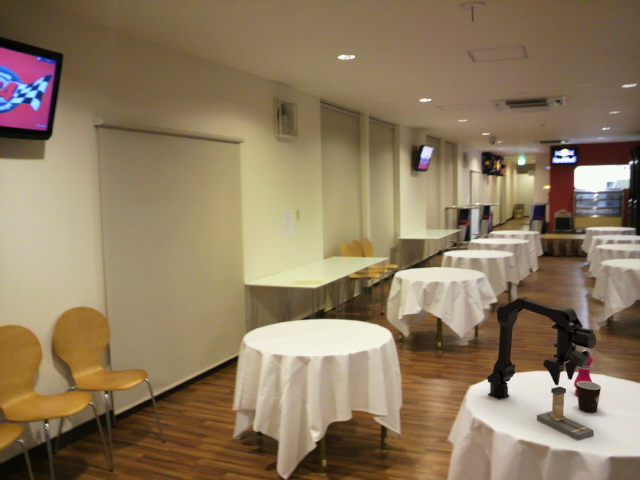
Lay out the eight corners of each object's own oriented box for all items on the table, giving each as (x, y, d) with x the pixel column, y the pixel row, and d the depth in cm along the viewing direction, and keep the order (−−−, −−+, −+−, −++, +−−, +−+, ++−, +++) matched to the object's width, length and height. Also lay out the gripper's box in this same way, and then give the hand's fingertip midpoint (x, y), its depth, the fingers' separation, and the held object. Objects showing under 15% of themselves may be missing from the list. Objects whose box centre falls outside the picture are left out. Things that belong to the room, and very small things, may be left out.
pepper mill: (595, 398, 219) (598, 352, 217) (578, 398, 219) (580, 352, 217) (587, 391, 226) (589, 346, 224) (570, 391, 227) (572, 346, 224)
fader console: (536, 420, 200) (536, 414, 200) (551, 415, 203) (551, 410, 203) (577, 440, 184) (578, 434, 184) (593, 435, 187) (593, 430, 187)
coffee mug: (586, 415, 204) (587, 390, 203) (570, 406, 212) (571, 382, 211) (611, 411, 207) (612, 387, 206) (594, 403, 215) (595, 379, 214)
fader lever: (549, 418, 196) (550, 388, 195) (558, 415, 198) (559, 386, 197) (556, 421, 194) (557, 391, 193) (565, 418, 196) (566, 389, 194)
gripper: (572, 352, 185) (570, 394, 187) (599, 342, 196) (597, 383, 198) (543, 344, 194) (541, 385, 196) (570, 335, 205) (568, 374, 207)
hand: (563, 382), depth 199 cm, fingers open, 9 cm apart
